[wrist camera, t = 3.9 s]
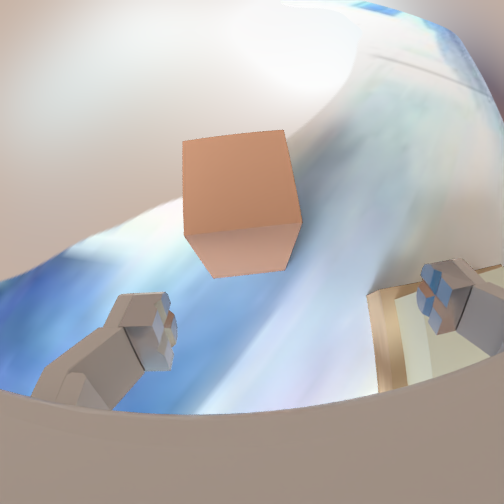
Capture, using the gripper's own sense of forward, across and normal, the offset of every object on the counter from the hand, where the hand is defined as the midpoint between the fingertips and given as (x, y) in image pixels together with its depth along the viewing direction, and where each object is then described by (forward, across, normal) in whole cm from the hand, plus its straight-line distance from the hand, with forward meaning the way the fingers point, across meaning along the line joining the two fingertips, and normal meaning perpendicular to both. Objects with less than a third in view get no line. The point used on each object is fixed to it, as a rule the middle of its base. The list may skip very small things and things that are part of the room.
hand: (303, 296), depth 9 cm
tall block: (+10, +2, +3) cm, 11 cm away
